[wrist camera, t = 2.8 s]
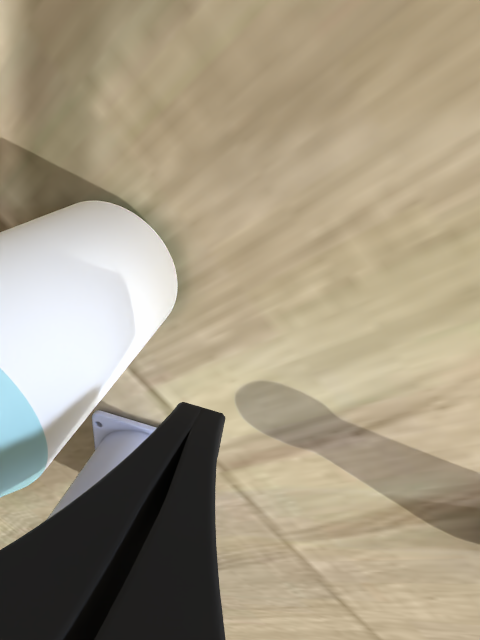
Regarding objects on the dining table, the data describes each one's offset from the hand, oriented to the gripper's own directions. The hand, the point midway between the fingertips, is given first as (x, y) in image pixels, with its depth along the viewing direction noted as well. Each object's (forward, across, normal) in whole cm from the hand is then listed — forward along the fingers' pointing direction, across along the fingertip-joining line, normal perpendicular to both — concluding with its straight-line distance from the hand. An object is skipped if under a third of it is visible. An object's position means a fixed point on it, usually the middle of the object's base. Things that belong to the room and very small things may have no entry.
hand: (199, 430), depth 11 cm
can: (+9, +7, 0) cm, 11 cm away
